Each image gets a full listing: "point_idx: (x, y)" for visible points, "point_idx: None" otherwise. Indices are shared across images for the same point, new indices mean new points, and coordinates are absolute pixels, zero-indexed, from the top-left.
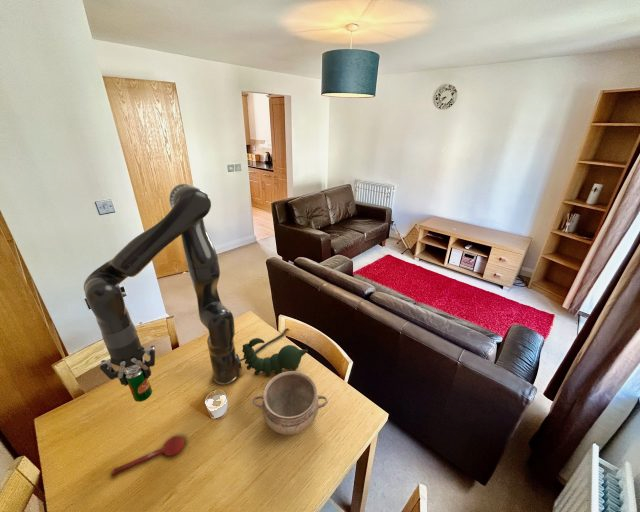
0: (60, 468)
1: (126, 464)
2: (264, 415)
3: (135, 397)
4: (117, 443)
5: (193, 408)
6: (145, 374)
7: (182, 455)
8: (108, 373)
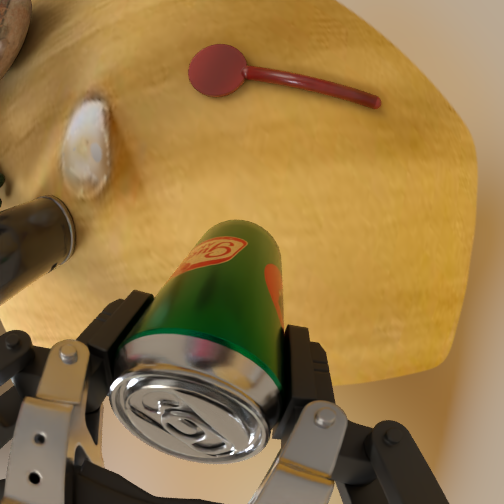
0: (459, 222)
1: (347, 93)
2: (11, 17)
3: (271, 246)
4: (356, 194)
5: (138, 168)
6: (125, 318)
7: (206, 37)
8: (422, 497)
